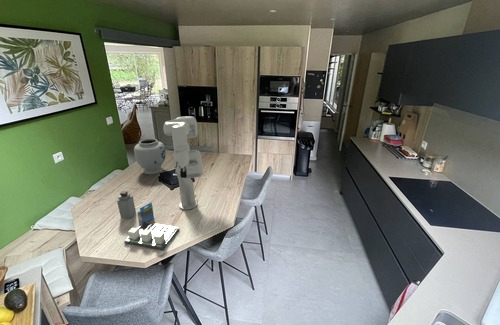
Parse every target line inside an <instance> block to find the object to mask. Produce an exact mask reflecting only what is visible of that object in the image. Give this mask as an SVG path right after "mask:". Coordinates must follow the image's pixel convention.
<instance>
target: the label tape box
mask: <svg viewBox="0 0 500 325" xmlns="http://www.w3.org/2000/svg"><path fill="white" fill-rule="evenodd" d="M136 214H137V219H138V223H139V224H140V225H141V224H142V223H143V222H148V223H149V222H150V221H152V220H153V219H155V215H154V207H153V204H152V202H149V203H148V204H146V205H143V206H142V207H139V211H136Z"/></svg>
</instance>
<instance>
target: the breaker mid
mask: <svg viewBox="0 0 500 325" xmlns="http://www.w3.org/2000/svg"><path fill="white" fill-rule="evenodd" d="M151 238H152V232H151V230H144V231H143V232H142V233H141V239H142V241H144V242H148V241H149V240H150V239H151Z"/></svg>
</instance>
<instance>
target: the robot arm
mask: <svg viewBox="0 0 500 325" xmlns="http://www.w3.org/2000/svg"><path fill="white" fill-rule="evenodd" d="M163 133H164V135H165V136H168V137H171V136H172V146H173V147H172V148H173V167H174V168H175V173H176V176H177V181H178V186H179V193H180V194H179V196H180V202H179V205H178V207H179V208H180V209H181V210H184V211H188V210H189V211H190V210H194V208H196V207H197V206H198V202H197V200H196V198H197V194H195V186H194V181H193V180H192V178H193V179H194V178H200V177H202V176H203V173H204V169H203V168H204V167H203V161H202V155H201V154H202V153H201V152H200V150H198V149H190V144H189V142H188V139H195V138H197V136H198V122H197V119H196V117H195V116H190V115H189V116H187V115H186V116H178V117H176V118H175V119H174V118H173V119H171V120H167V121H165V122H164V124H163Z"/></svg>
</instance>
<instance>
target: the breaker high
mask: <svg viewBox="0 0 500 325" xmlns="http://www.w3.org/2000/svg"><path fill="white" fill-rule="evenodd" d="M164 240H165V235H164V232H157V233H156V234H155V235H154V242H155V244H162V242H163V241H164Z"/></svg>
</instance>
